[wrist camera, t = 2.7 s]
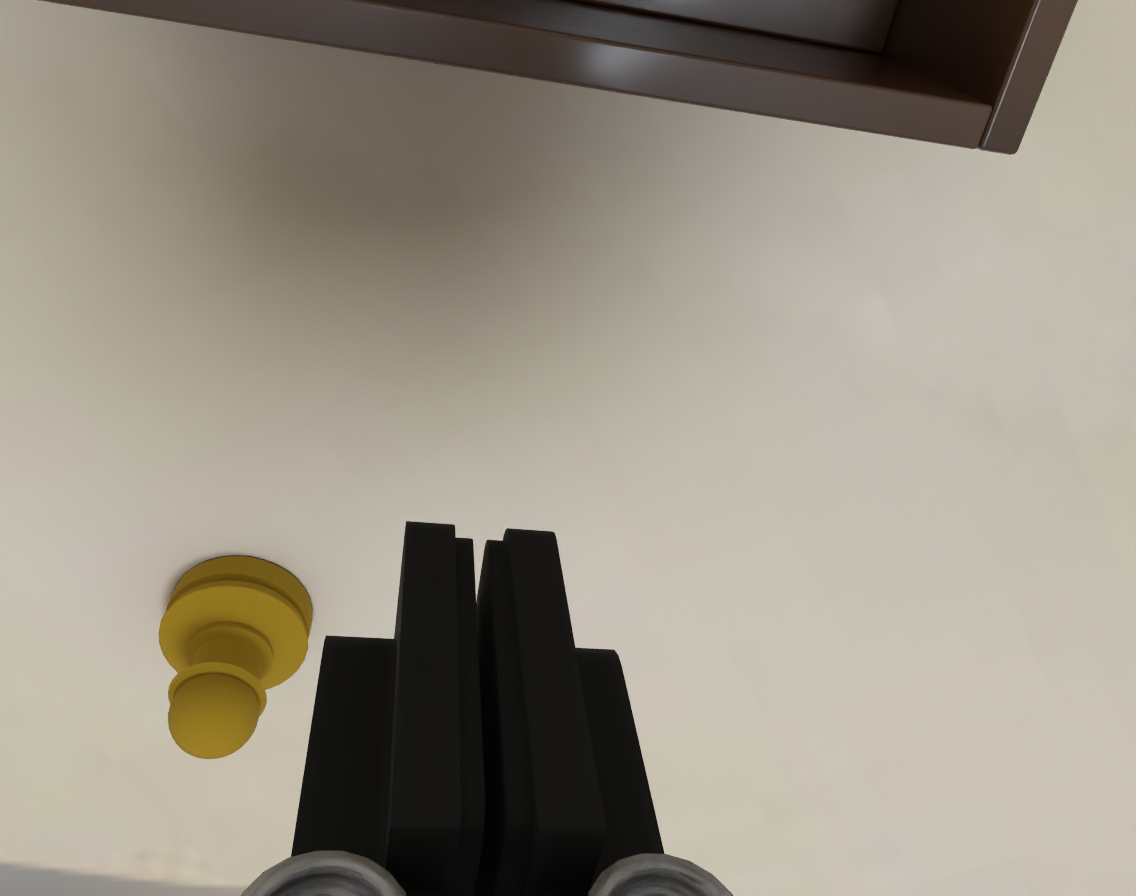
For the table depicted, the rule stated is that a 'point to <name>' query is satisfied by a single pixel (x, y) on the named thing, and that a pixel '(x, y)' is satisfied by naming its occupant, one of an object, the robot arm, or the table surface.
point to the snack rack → (709, 51)
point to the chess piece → (230, 649)
